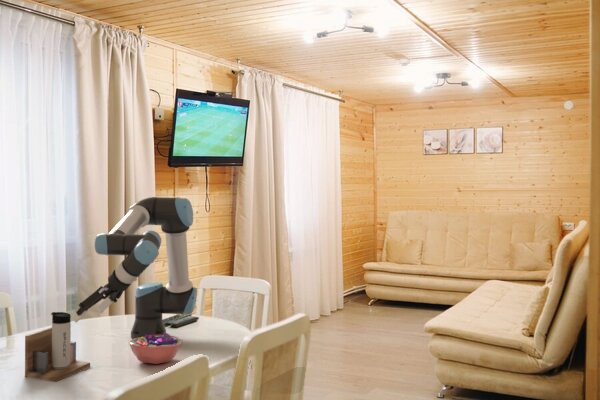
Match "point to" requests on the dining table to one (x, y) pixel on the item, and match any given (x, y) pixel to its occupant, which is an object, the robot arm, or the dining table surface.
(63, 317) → the travel mug
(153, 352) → the candy bowl
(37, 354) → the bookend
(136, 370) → the dining table surface
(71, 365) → the shelf
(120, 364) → the dining table surface
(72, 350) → the books
